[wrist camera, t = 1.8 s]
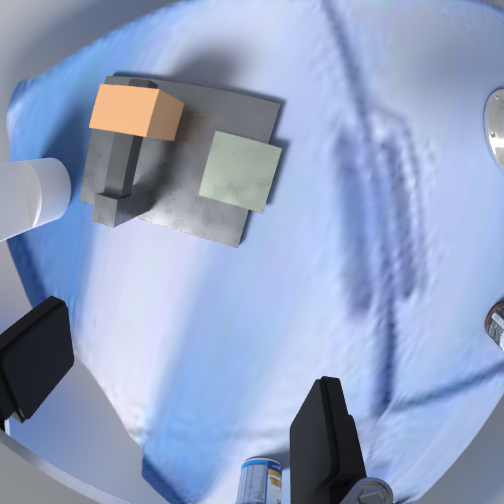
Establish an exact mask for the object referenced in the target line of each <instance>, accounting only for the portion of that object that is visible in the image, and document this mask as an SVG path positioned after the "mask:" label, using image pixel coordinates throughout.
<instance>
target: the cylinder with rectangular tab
mask: <svg viewBox="0 0 504 504" xmlns="http://www.w3.org/2000/svg"><path fill="white" fill-rule="evenodd" d="M70 197H71V182H70V177H69V174H68V172H67V169H66V168H65V166H64V165H63V163H62V162H60V161H59V160H58V159H55V158H41V159H32V160H23V161H15V162H8V163H1V164H0V242H1V241H3V240H6V239H8V238H10V237H13V236H15V235H17V234H20V233H22V232H25V231H27V230H30V229H32V228H35V227H38V226H40V225H43V224H45V223H48V222H51V221H53V220H56V219H59V218H60V217H61V216H62V215H64V213H65V211H66V210H67V208H68V205H69V202H70Z"/></svg>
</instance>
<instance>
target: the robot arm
mask: <svg viewBox="0 0 504 504" xmlns="http://www.w3.org/2000/svg"><path fill="white" fill-rule="evenodd" d="M484 128H485V135H486V140H487V143H488V146H489V150H490V152H491V154H492V157H493V159H494V160H495V162H496V164H497V165H498V167H499V168H500V169H501V170H502V171H503V172H504V89H501V90H497V91H495V92H493V93H492V94H491V95H490V96H489V98H488V100H487V102H486V105H485V111H484ZM73 364H74V354H73V347H72V340H71V332H70V323H69V313H68V307H67V306H66V304H65V302H64V301H63V300H61V299H59V298H56V297H54V296H50V297H49V298H47V299H46V300H44V301H43V302H42V303H40V304H39V305H38V306H36V307H35V308H34V309H32V310H31V311H30V312H29V313H27V314H26V315H24V316H23V317H22V318H21V319H19V320H18V321H17V322H16V323H14V324H13V325H12V326H10V327H9V328H8V329H7V330H6V331H4V332H3V333H2V334H1V335H0V504H132V503H130V502H127V501H124V500H122V499H119V498H117V497H115V496H112V495H110V494H107V493H105V492H103V491H101V490H98V489H96V488H94V487H92V486H90V485H88V484H86V483H84V482H82V481H80V480H78V479H76V478H74V477H73V476H71V475H69V474H67V473H65V472H63V471H62V470H60V469H58V468H57V467H55V466H53V465H51V464H50V463H48V462H47V461H45V460H43V459H42V458H40V457H39V456H37V455H35V454H34V453H33V452H31V451H30V450H28V449H27V448H25V447H24V446H22V445H21V444H19V443H18V442H17V441H16V440H14V439H13V438H11V437H10V429H9V417H10V416H11V415H12V417H14V418H15V419H16V420H18V421H19V422H20V423H23V422H24V421H25V420H26V419H30V418H31V416H32V415H33V414H34V413H35V411H36V410H37V409H38V408H39V406H40V405H41V404H42V402H43V401H44V400H45V399H46V397H47V396H48V395H49V394H50V393H51V391H52V390H53V389H54V388H55V386H56V385H57V384H58V383H59V382H60V380H61V379H62V378H63V377H64V375H65V374H66V373H67V372H68V371H69V370H70V368H71V367H72V366H73ZM290 485H291V504H393V503H392V502H393V492H392V489H391V488H390V486H389V485H388V484H387V483H386V482H385V481H383V480H381V479H379V478H374V477H368V478H367V475H366V470H365V466H364V461H363V457H362V452H361V448H360V443H359V439H358V435H357V430H356V426H355V422H354V419H353V417H352V416H351V415H348V411H347V407H346V403H345V399H344V395H343V390H342V386H341V382H340V380H339V378H334V377H327V376H323V377H322V378H321V379H317V380H316V381H315V382H314V384H313V386H312V388H311V390H310V392H309V394H308V395H307V397H306V399H305V401H304V403H303V405H302V406H301V408H300V410H299V412H298V414H297V415H296V417H295V419H294V421H293V422H292V424H291V427H290Z"/></svg>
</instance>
